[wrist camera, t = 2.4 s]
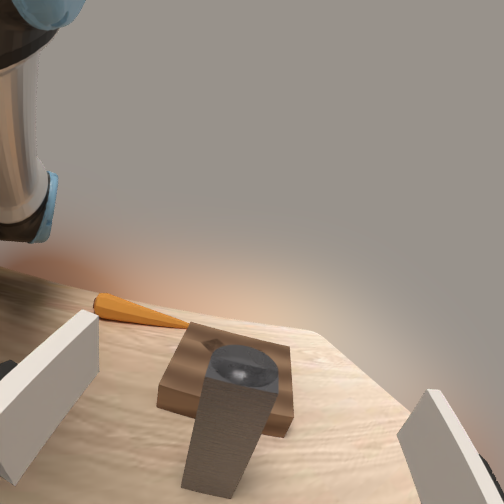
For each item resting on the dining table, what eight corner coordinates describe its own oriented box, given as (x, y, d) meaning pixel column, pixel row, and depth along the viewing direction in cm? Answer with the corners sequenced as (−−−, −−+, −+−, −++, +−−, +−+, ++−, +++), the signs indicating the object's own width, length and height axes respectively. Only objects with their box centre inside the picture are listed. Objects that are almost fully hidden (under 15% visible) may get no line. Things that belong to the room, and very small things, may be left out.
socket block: (283, 437, 34) (294, 417, 33) (156, 406, 34) (158, 384, 33) (282, 366, 49) (289, 346, 48) (186, 342, 49) (190, 321, 48)
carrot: (91, 321, 48) (91, 305, 45) (96, 301, 51) (98, 284, 49) (201, 346, 54) (208, 333, 52) (201, 326, 58) (208, 312, 55)
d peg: (230, 498, 24) (278, 393, 20) (180, 487, 24) (204, 376, 20) (235, 463, 29) (278, 353, 24) (190, 452, 29) (216, 338, 24)
